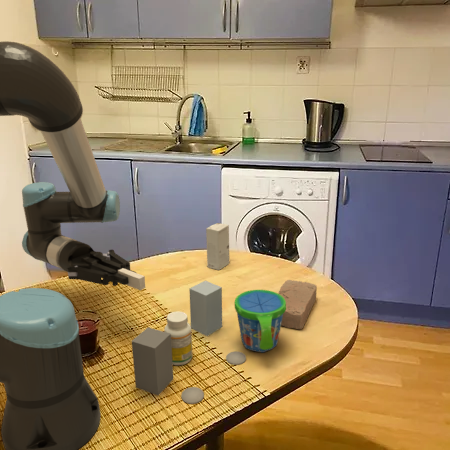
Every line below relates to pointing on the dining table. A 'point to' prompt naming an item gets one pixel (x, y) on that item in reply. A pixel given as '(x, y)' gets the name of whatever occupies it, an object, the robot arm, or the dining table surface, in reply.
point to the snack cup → (260, 318)
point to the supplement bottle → (179, 337)
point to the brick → (297, 302)
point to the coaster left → (192, 395)
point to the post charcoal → (152, 360)
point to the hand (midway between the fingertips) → (142, 283)
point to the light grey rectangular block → (206, 307)
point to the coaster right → (236, 358)
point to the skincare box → (217, 246)
